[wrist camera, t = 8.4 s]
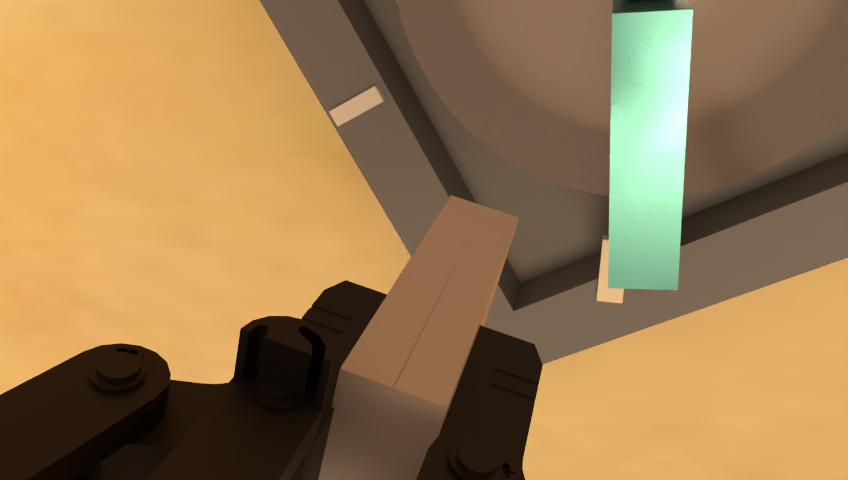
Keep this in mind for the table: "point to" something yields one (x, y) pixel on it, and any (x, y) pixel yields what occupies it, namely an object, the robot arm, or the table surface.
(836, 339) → the table surface
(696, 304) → the housing
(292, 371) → the robot arm
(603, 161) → the dial
